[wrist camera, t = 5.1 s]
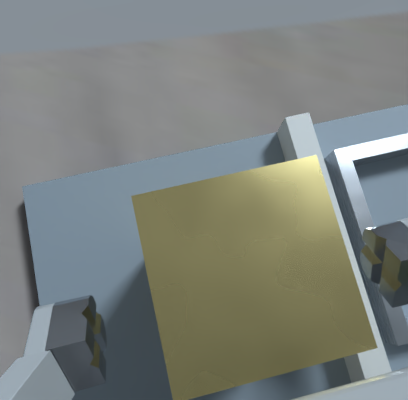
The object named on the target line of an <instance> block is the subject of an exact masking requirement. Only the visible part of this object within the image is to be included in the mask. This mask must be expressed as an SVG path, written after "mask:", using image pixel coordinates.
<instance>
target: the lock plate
mask: <svg viewBox="0 0 408 400" xmlns="http://www.w3.org/2000/svg"><path fill="white" fill-rule="evenodd" d="M407 133H408V104H407V105H402V106H398V107H393V108H388V109H384V110H379V111H374V112H369V113H365V114H360V115H355V116H351V117H346V118H341V119H337V120H332V121H327V122H323V123H318V124H312V121H311V117H310V114H309V113H305V114H300V115H295V116H291V117H286V118H285V119H284V121H283V122H282V124H281V126H280V128H279V129H278V131H277V132H276V133H271V134H266V135H262V136H257V137H252V138H248V139H243V140H238V141H234V142H229V143H224V144H219V145H215V146H210V147H205V148H201V149H196V150H191V151H187V152H182V153H177V154H173V155H168V156H163V157H159V158H154V159H149V160H144V161H140V162H135V163H130V164H126V165H121V166H116V167H112V168H107V169H102V170H98V171H93V172H88V173H84V174H79V175H74V176H69V177H65V178H60V179H55V180H51V181H46V182H41V183H37V184H32V185H27V186H23V187H22V188H23V195H24V202H25V209H26V216H27V223H28V229H29V236H30V243H31V250H32V257H33V264H34V271H35V277H36V284H37V291H38V298H39V305H40V306H44V305H48V304H53V303H56V302H60V301H65V300H70V299H74V298H79V297H83V296H88V295H91V296H93V298H94V300H95V302H96V312H97V313H99V314H101V316H102V318H103V321H104V325H105V329H106V336H107V348H106V349H105V351H104V352H103V355H104V357H105V359H106V383H104V384H100V385H97V386H93V387H90V388H87V389H83V390H80V391H76V392H74V393H75V395H74V396H73V398H72V400H173V397H172V393H171V388H170V383H169V378H168V373H167V368H166V363H165V359H164V354H163V349H162V344H161V339H160V334H159V329H158V325H157V320H156V315H155V310H154V305H153V300H152V295H151V291H150V286H149V281H148V276H147V271H146V266H145V261H144V257H143V252H142V247H141V242H140V237H139V232H138V227H137V223H136V218H135V213H134V208H133V203H132V198H131V196H133V195H137V194H142V193H146V192H151V191H155V190H160V189H164V188H169V187H173V186H178V185H182V184H187V183H192V182H196V181H201V180H205V179H210V178H214V177H219V176H223V175H228V174H232V173H237V172H241V171H246V170H250V169H255V168H259V167H264V166H268V165H273V164H277V163H282V162H287V161H291V160H296V159H300V158H305V157H309V156H314V155H317V158H318V161H319V164H320V167H321V171H322V174H323V177H324V180H325V183H326V186H327V189H328V193H329V196H330V199H331V202H332V205H333V208H334V212H335V215H336V218H337V221H338V224H339V227H340V231H341V234H342V237H343V240H344V243H345V246H346V249H347V253H348V256H349V259H350V262H351V265H352V268H353V272H354V275H355V278H356V281H357V284H358V287H359V291H360V294H361V297H362V300H363V303H364V306H365V309H366V313H367V316H368V319H369V322H370V325H371V328H372V332H373V335H374V338H375V341H376V344H377V347H378V348H376V349H372V350H368V351H365V352H361V353H357V354H354V355H350V356H346V357H343V358H339V359H335V360H332V361H328V362H324V363H321V364H317V365H313V366H310V367H306V368H303V369H299V370H295V371H292V372H288V373H284V374H281V375H277V376H273V377H270V378H266V379H262V380H259V381H255V382H251V383H248V384H244V385H240V386H237V387H233V388H229V389H226V390H222V391H218V392H215V393H211V394H207V395H204V396H200V397H196V398H193V399H189V400H291V399H295V398H298V397H302V396H306V395H309V394H313V393H316V392H320V391H324V390H327V389H331V388H334V387H338V386H342V385H345V384H349V383H352V382H356V381H360V380H363V379H367V378H370V377H374V376H377V375H381V374H385V373H388V372H392V371H395V370H399V369H403V368H406V367H408V344H404V345H400V346H396V345H392V344H389V343H385V342H382V339H381V336H380V333H379V330H378V327H377V324H376V321H375V317H374V314H373V311H372V308H371V305H370V302H369V299H368V296H367V292H366V289H365V286H364V283H363V280H362V277H361V274H360V271H359V267H358V264H357V261H356V258H355V255H354V252H353V249H352V246H351V242H350V239H349V236H348V233H347V230H346V227H345V224H344V221H343V217H342V214H341V211H340V208H339V205H338V202H337V199H336V196H335V192H334V189H333V186H332V183H331V180H330V177H329V174H328V171H327V167H326V164H325V161H324V158H326V157H327V156H328V155H329V154H330V153H331V152H332V151H333V150H335V149H339V148H344V147H348V146H353V145H357V144H362V143H367V142H371V141H376V140H380V139H385V138H389V137H394V136H398V135H403V134H407ZM354 167H355V170H356V173H357V176H358V179H359V182H360V185H361V188H362V191H363V194H364V196H365V199H366V202H367V205H368V208H369V211H370V214H371V217H372V220H373V223H374V226H378V225H382V224H386V223H390V222H394V221H397V220H401V219H405V218H408V154H406V155H402V156H398V157H393V158H389V159H384V160H380V161H375V162H371V163H367V164H362V165H358V166H354ZM401 307H402V310H403V313H404V316H405V318H408V304H407V305H403V306H401Z"/></svg>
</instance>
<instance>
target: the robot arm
mask: <svg viewBox="0 0 408 400" xmlns="http://www.w3.org/2000/svg"><path fill="white" fill-rule="evenodd" d="M362 240H363V241H364V242H365V244H366V245H365V246H364V247H363V249H362V250H361V254H360V261H361V265H362V268H363V270H364V272H365V274H366V276H367V277H368V278H369V280H370V281H372V282H375V283H377V284H379V292H380V293H381V295H382V296H383V297H384V298H385V300H386V301H387V302H388V303H389V304H390V306H391V307H392V308H394V307H399V306H403V305H407V304H408V218H405V219H401V220H397V221H394V222H390V223H386V224H382V225H378V226H374V227H370V228H366V229H365V230H364V232H363V235H362ZM106 348H107V336H106V329H105V325H104V321H103V318H102V316H101V314H99V313H97V312H96V302H95V300H94V298H93V296H91V295H88V296H83V297H79V298H74V299H70V300H65V301H60V302H56V303H53V304H48V305H44V306H39V307H37V308H36V309H35V310H34V312H33V317H32V321H31V325H30V329H29V333H28V338H27V342H26V346H25V350H24V354H23V357H21V358H17V359H16V361H15V362H14V363H13V364H12V365H11V366H10V367H9V369H8V370H7V371H6V372H5V373H4V374H3V375H2V377H1V378H0V400H72V398H73V396H74V395H75V393H74V392H76V391H80V390H83V389H87V388H90V387H93V386H97V385H100V384H104V383H106V359H105V357H104V355H103V352H104V351H105V349H106ZM291 400H408V367H406V368H403V369H399V370H395V371H392V372H388V373H385V374H381V375H377V376H374V377H370V378H367V379H363V380H360V381H356V382H352V383H349V384H345V385H342V386H338V387H334V388H331V389H327V390H324V391H320V392H316V393H313V394H309V395H306V396H302V397H298V398H295V399H291Z"/></svg>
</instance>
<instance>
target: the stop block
mask: <svg viewBox="0 0 408 400" xmlns="http://www.w3.org/2000/svg"><path fill="white" fill-rule="evenodd" d="M131 198H132V203H133V208H134V213H135V218H136V223H137V227H138V232H139V237H140V242H141V247H142V252H143V257H144V261H145V266H146V271H147V276H148V281H149V286H150V291H151V295H152V300H153V305H154V310H155V315H156V320H157V325H158V329H159V334H160V339H161V344H162V349H163V354H164V359H165V363H166V368H167V373H168V378H169V383H170V388H171V393H172V397H173V400H189V399H193V398H196V397H200V396H204V395H207V394H211V393H215V392H218V391H222V390H226V389H229V388H233V387H237V386H240V385H244V384H248V383H251V382H255V381H259V380H262V379H266V378H270V377H273V376H277V375H281V374H284V373H288V372H292V371H295V370H299V369H303V368H306V367H310V366H313V365H317V364H321V363H324V362H328V361H332V360H335V359H339V358H343V357H346V356H350V355H354V354H357V353H361V352H365V351H368V350H372V349H376V348H378V347H377V344H376V341H375V338H374V335H373V332H372V328H371V325H370V322H369V319H368V316H367V313H366V309H365V306H364V303H363V300H362V297H361V294H360V291H359V287H358V284H357V281H356V278H355V275H354V272H353V268H352V265H351V262H350V259H349V256H348V253H347V249H346V246H345V243H344V240H343V237H342V234H341V231H340V227H339V224H338V221H337V218H336V215H335V212H334V208H333V205H332V202H331V199H330V196H329V193H328V189H327V186H326V183H325V180H324V177H323V174H322V171H321V167H320V164H319V161H318V158H317V155H314V156H309V157H305V158H300V159H296V160H291V161H287V162H282V163H277V164H273V165H268V166H264V167H259V168H255V169H250V170H246V171H241V172H237V173H232V174H228V175H223V176H219V177H214V178H210V179H205V180H201V181H196V182H192V183H187V184H182V185H178V186H173V187H169V188H164V189H160V190H155V191H151V192H146V193H142V194H137V195H133V196H131Z"/></svg>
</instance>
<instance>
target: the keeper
mask: <svg viewBox="0 0 408 400" xmlns="http://www.w3.org/2000/svg"><path fill="white" fill-rule="evenodd" d="M406 154H408V133H407V134H403V135H398V136H394V137H389V138H385V139H380V140H376V141H371V142H367V143H362V144H357V145H353V146H348V147H344V148H339V149H335V150H333V151H332V152H331V153H330V154H329V155H328V156H327V157H326V158H324V161H325V164H326V167H327V171H328V174H329V177H330V180H331V183H332V186H333V189H334V192H335V196H336V199H337V202H338V205H339V208H340V211H341V214H342V217H343V221H344V224H345V227H346V230H347V233H348V236H349V239H350V242H351V246H352V249H353V252H354V255H355V258H356V261H357V264H358V267H359V271H360V274H361V277H362V280H363V283H364V286H365V289H366V292H367V296H368V299H369V302H370V305H371V308H372V311H373V314H374V317H375V321H376V324H377V327H378V330H379V333H380V336H381V339H382V342H385V343H389V344H392V345H396V346H400V345H404V344H408V318H405V316H404V313H403V310H402V307H401V306H399V307H394V308H392V307H391V306H390V304H389V303H388V302H387V301H386V300H385V298H384V297H383V296H382V295H381V293H380V292H379V284H377V283H375V282H372V281H370V280H369V278H368V277H367V276H366V274H365V272H364V270H363V268H362V265H361V261H360V254H361V250H362V249H363V247H364V246H365V245H366V244H365V242H364V241H363V240H362V235H363V232H364V230H365V229H366V228H370V227H374V223H373V220H372V217H371V214H370V211H369V208H368V205H367V202H366V199H365V196H364V194H363V191H362V188H361V185H360V182H359V179H358V176H357V173H356V170H355V167H354V166H358V165H362V164H367V163H371V162H375V161H380V160H384V159H389V158H393V157H398V156H402V155H406Z"/></svg>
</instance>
